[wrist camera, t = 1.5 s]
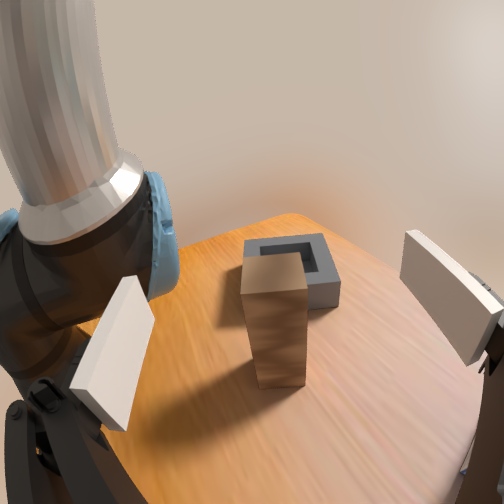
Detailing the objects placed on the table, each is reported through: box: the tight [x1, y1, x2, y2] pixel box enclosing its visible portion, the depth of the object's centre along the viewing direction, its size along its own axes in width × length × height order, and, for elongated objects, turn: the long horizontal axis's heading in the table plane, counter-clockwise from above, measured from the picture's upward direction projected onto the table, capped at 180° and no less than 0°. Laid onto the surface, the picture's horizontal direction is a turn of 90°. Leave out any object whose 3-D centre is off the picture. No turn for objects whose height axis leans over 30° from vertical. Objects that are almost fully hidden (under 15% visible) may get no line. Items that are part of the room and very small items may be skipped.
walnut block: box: [240, 252, 308, 389], centre depth 26 cm, size 5×5×14 cm
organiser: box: [243, 233, 341, 310], centre depth 42 cm, size 13×13×4 cm
